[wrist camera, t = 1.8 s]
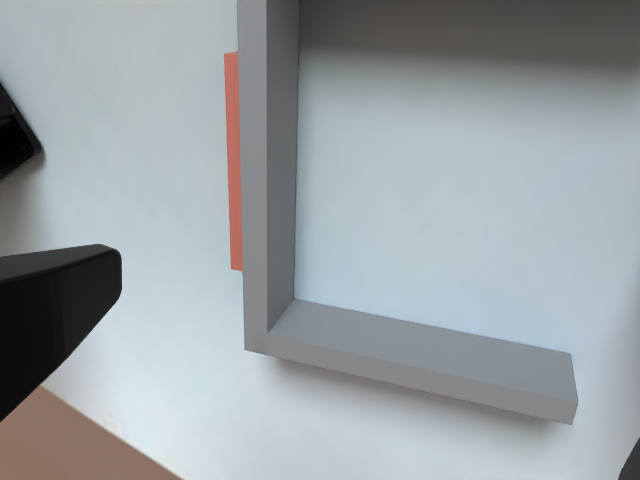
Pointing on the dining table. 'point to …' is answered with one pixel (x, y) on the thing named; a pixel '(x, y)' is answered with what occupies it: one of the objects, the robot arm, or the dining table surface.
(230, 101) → the bay
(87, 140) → the dining table surface
